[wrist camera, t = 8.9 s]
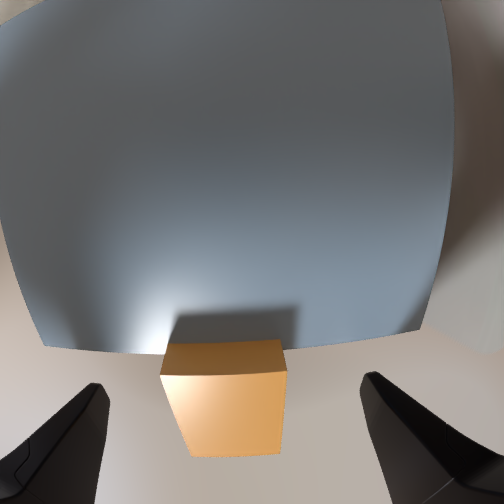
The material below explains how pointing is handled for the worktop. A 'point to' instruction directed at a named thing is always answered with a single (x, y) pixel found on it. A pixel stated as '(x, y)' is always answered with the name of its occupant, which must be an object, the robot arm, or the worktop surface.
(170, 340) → the lid
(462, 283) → the worktop surface
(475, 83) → the worktop surface
